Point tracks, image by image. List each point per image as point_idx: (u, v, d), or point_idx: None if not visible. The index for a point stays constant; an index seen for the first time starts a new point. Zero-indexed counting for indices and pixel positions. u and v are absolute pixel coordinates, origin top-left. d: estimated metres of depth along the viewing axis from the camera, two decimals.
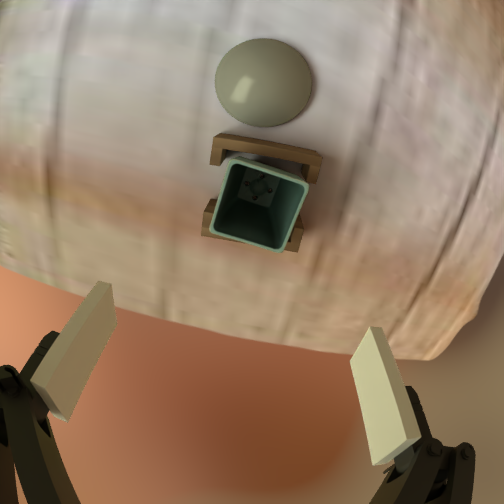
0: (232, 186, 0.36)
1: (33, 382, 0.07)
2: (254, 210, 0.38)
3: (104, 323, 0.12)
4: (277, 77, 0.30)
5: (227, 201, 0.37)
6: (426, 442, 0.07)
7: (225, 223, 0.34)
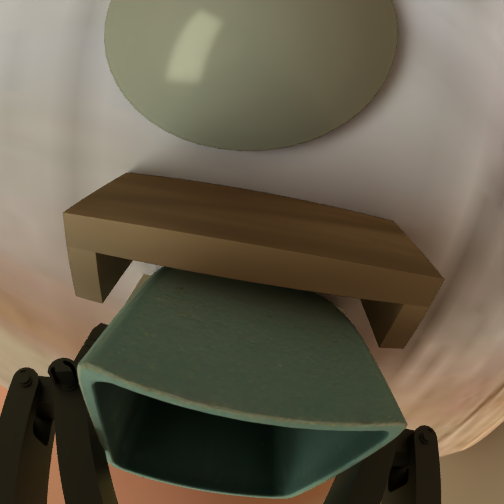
0: None
1: None
2: None
3: None
4: None
5: None
6: None
7: (151, 431, 0.11)
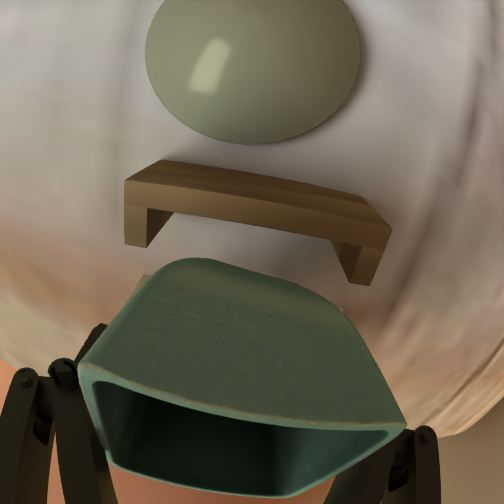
0: None
1: None
2: None
3: None
4: (283, 32, 0.12)
5: None
6: None
7: (151, 431, 0.11)
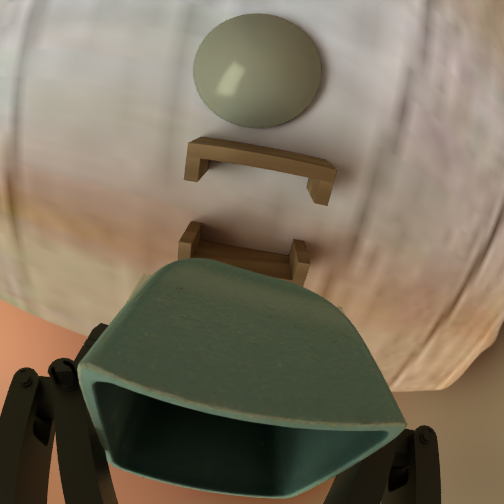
0: None
1: None
2: None
3: None
4: (275, 62, 0.22)
5: None
6: None
7: (151, 431, 0.11)
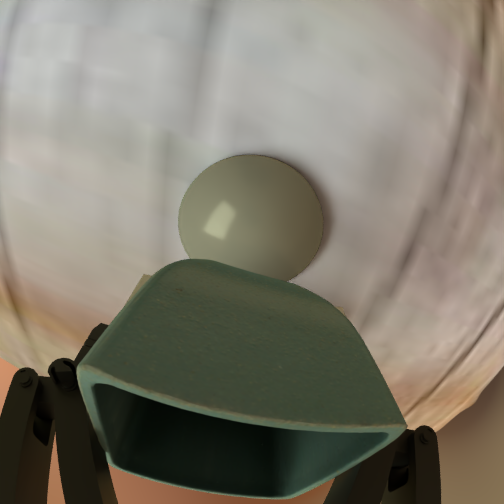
0: None
1: None
2: None
3: None
4: (271, 223, 0.23)
5: None
6: None
7: (150, 432, 0.11)
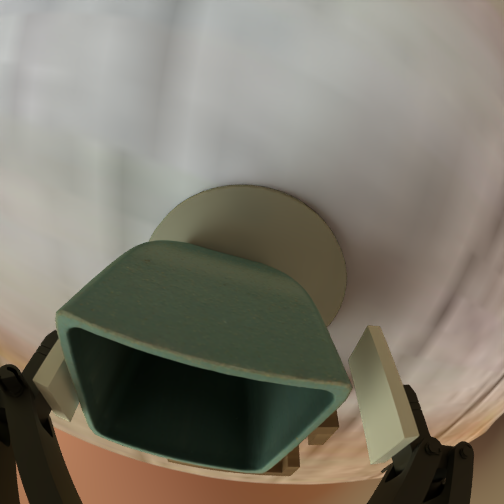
0: None
1: (36, 381, 0.07)
2: None
3: None
4: None
5: None
6: (424, 441, 0.08)
7: (132, 403, 0.12)
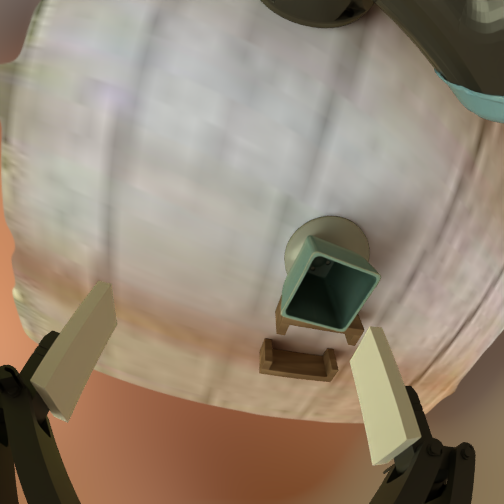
0: None
1: (33, 382, 0.07)
2: (312, 282, 0.38)
3: (104, 323, 0.12)
4: None
5: None
6: (426, 442, 0.07)
7: (292, 302, 0.34)
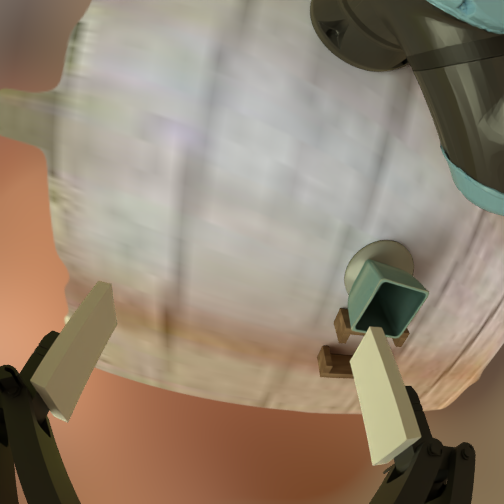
0: None
1: (33, 382, 0.07)
2: None
3: (104, 323, 0.12)
4: None
5: None
6: (426, 442, 0.07)
7: None
